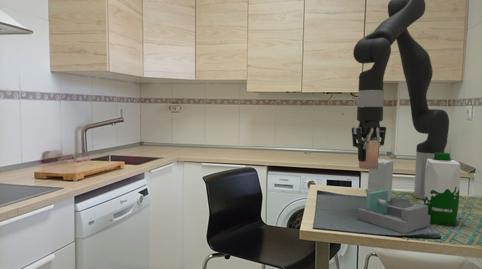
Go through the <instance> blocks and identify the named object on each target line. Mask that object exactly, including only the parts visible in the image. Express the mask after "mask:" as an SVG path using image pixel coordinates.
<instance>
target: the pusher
mask: <svg viewBox="0 0 482 269" xmlns="http://www.w3.org/2000/svg"><path fill="white" fill-rule="evenodd" d="M387 201H388V190H381V191H375V192H370V193H367V192H366V201H365V202H366V204H365V205H366V206H365V209H366V210H369V211H372V212H376V213H379V214H385V213H387V205H388V202H389V201H388V202H387Z"/></svg>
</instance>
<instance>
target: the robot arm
mask: <svg viewBox="0 0 482 269" xmlns="http://www.w3.org/2000/svg"><path fill="white" fill-rule="evenodd" d="M425 12H426V1H425V0H389V1H388V5H387V15H388V17H387V18H386V19H385V20H383V21H381V23H380V24H378V26H377V27H376V28H375V30H374V31H372V32H370V33H369V34H367V35H365V36H364V37H362V38H361V39H359V40H358V42H356V44H355V45H354V47H353V58H354V60H355V61H356V62H357V63H358V64H364V65H365V64H372V66H371V68H370V69H366V70H365V71H362V72H360V73H359V75H358V93H357V101H356V102H357V103H356V104H357V105H356V106H357V107H356V120H357V121H358V126H357V127H352V128H351V137H352V138H351V139H352V147H353V148H357V151H358V152H357V159H358V162H359V161H362V162H364V161H366V146H367V143H368V142H369V141H370V140H377V142H379V150H378V158H379V156H380V155H379V154H380V148H381V147H382V146H384V145H385V139H386V132H387V126H381V124H380V122H383V120H384V100H385V98H384V76H385V73H386V69H387V66H388V63H389V60H390V57H391V53H392V46H393V44H394V43H395V41H396V43H397V47H398V51H399V56H400V61H401V66H402V71H403V74H404V80H405V82H406V87H407V92H408V98H409V103H410V112H411V121H412V125H413V128H414V129H415V131H416V132H418V133H419V134H423V135H425V134H426V135H427V137H426V139H425V141H423V142H420V143H418V144H417V145H416V153H415V155H416V156H415V171H414V172H415V173H414V189H413V190H414V191H413V197H414V198H417V199H419V200H424V188H425V173H426V162H427V159H434V153H436V152H440V153H445V150H446V147H447V144H448V138H449V127H450V118H449V114H448V113H447V112H446V111H445V110H444V109H437V108H436V109H435V108H433V109H430V108H429V105H428V100H427V93H428V90H429V87H430V84H431V82H432V78H433V67H432V66H433V65H432V61H431V57H430V54H429V53H428V51H427V50H426V49H425V48H424V47H423V46H422V45H421V44H419V42H417V41H416V40H415V39H414V38H413V36H411V33H410V32H409V29H408V28H409V27H410V26H411V25H412V24H413V23H416V21H418V20H420V18H422V17H423V16H424V14H425ZM362 142H364V143H363V145H362Z"/></svg>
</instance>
